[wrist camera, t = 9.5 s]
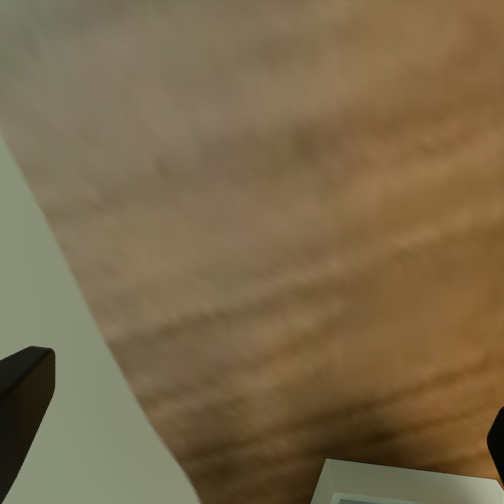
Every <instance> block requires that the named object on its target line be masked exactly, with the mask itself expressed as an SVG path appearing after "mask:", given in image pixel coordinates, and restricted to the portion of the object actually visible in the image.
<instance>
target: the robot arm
mask: <svg viewBox="0 0 504 504" xmlns="http://www.w3.org/2000/svg"><path fill="white" fill-rule="evenodd" d="M54 390H55V352H54V350H53V349H51V348H45V347H37V346H30V347H27V348H25V349H23V350H21V351H19V352H17V353H15V354H13V355H10V356H8V357H6V358H4V359H2V360H0V504H2V502H3V500H4V499H5V497H6V495H7V494H8V492H9V490H10V488H11V486H12V485H13V483H14V481H15V479H16V477H17V475H18V473H19V471H20V469H21V466H22V465H23V462H24V460H25V458H26V455H27V453H28V451H29V449H30V446H31V444H32V442H33V440H34V437H35V435H36V433H37V431H38V428H39V426H40V424H41V422H42V419H43V417H44V415H45V412H46V410H47V408H48V406H49V404H50V401H51V399H52V397H53V393H54ZM487 446H488V449H489V452H490V454H491V456H492V459H493V461H494V464H495V466H496V469H497V471H498V474H499V476H500V478H501V481H502V483H503V486H504V406H503V407H502V408H501V409H500V410H499V412H498V414H497V416H496V418H495V420H494V422H493V424H492V426H491V428H490V430H489V432H488V435H487Z"/></svg>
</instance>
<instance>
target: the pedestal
mask: <svg viewBox="0 0 504 504" xmlns="http://www.w3.org/2000/svg"><path fill="white" fill-rule="evenodd" d="M311 504H504V491H503V490H502V488H501V487H500V485H499V484H498V482H497V481H496V480H493V479H485V478H477V477H469V476H461V475H453V474H445V473H437V472H429V471H421V470H414V469H406V468H398V467H390V466H382V465H374V464H366V463H358V462H350V461H342V460H334V459H327V458H326V461H325V463H324V466H323V469H322V472H321V475H320V478H319V481H318V484H317V486H316V489H315V492H314V495H313V498H312V501H311Z"/></svg>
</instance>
